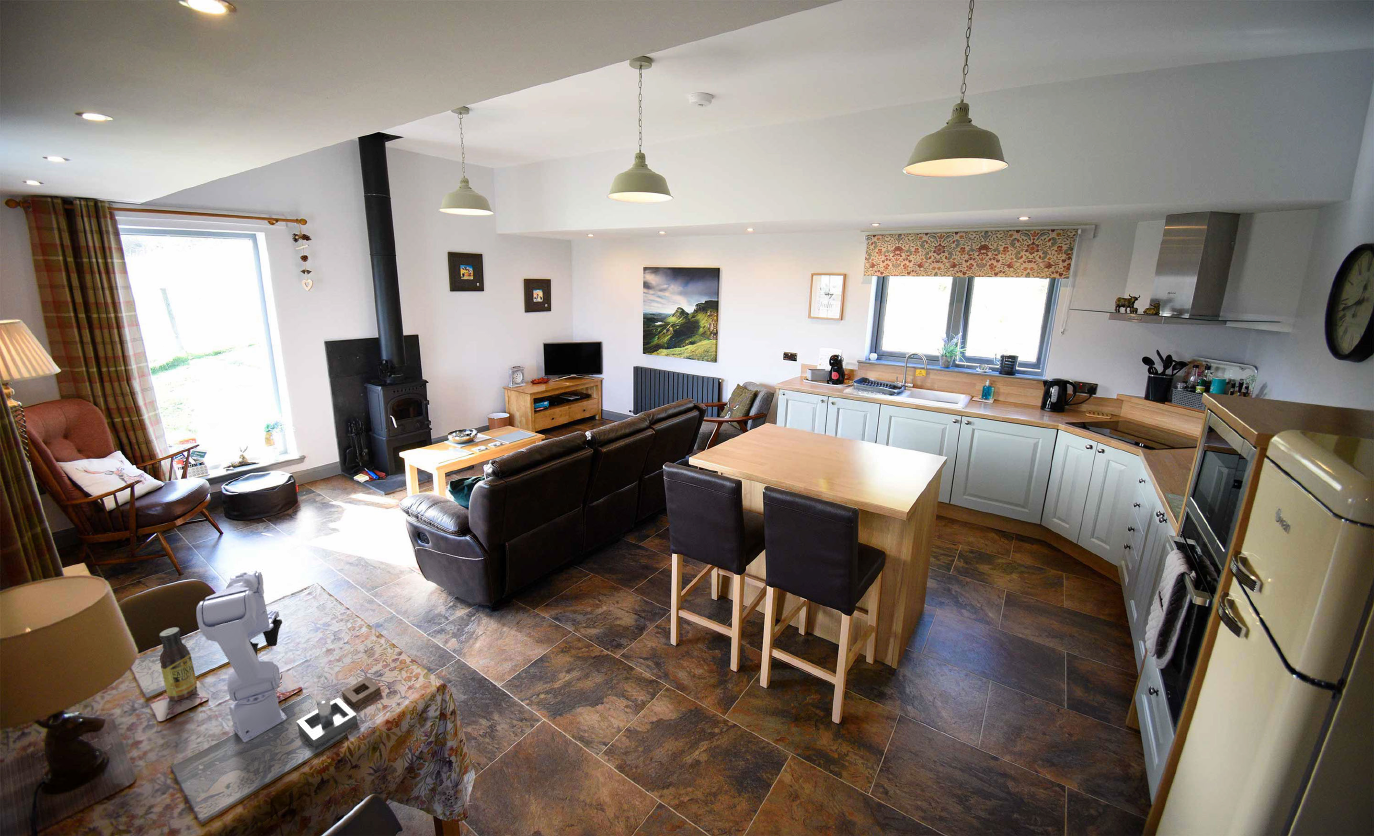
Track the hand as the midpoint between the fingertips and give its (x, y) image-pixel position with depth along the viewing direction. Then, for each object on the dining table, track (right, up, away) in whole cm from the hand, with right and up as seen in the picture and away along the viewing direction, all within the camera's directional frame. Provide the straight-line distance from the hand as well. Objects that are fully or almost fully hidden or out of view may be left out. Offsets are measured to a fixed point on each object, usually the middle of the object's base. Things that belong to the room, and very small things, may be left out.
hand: (263, 654), depth 153 cm
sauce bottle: (-22, -11, -1) cm, 24 cm away
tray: (+26, -14, -11) cm, 31 cm away
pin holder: (+28, -11, 0) cm, 30 cm away
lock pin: (+26, -13, -12) cm, 31 cm away
